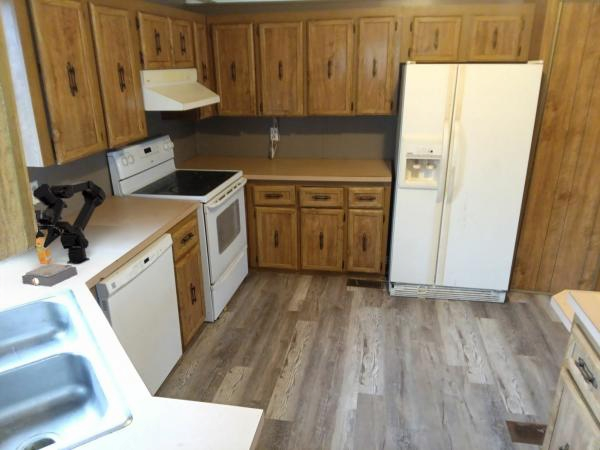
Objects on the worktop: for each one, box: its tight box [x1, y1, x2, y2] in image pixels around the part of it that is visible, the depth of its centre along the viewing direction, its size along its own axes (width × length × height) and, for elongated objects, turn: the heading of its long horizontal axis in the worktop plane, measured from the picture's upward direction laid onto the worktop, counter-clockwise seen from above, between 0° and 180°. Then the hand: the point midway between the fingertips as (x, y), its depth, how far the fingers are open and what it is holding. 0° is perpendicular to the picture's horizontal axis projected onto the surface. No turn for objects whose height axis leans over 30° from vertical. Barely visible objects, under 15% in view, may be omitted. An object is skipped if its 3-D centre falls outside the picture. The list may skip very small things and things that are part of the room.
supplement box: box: [35, 236, 53, 265], centre depth 170 cm, size 3×3×10 cm
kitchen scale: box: [21, 266, 78, 288], centre depth 172 cm, size 14×13×3 cm
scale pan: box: [25, 262, 73, 277], centre depth 172 cm, size 11×11×1 cm
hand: (40, 247), depth 168 cm, fingers closed on supplement box, 3 cm apart
